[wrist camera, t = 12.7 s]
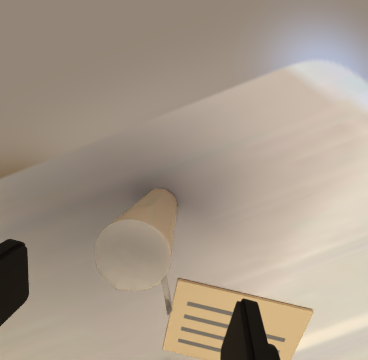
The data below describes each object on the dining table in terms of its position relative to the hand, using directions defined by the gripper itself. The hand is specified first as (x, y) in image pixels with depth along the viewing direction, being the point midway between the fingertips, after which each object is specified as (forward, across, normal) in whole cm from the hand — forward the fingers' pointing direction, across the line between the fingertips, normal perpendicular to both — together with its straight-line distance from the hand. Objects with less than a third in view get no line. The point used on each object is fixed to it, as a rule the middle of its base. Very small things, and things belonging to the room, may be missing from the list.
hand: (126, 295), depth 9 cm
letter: (+11, -9, +13) cm, 20 cm away
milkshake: (+11, +1, +1) cm, 11 cm away
